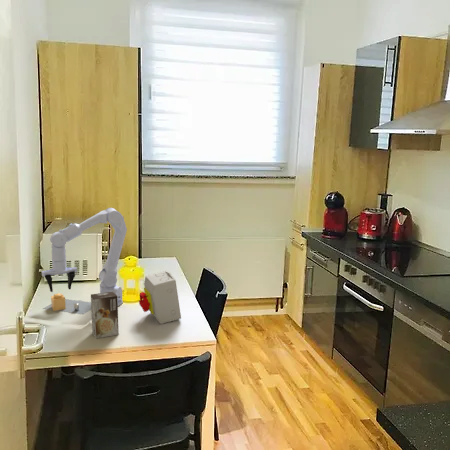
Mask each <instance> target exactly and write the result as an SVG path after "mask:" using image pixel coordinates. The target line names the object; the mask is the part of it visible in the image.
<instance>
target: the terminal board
mask: <svg viewBox="0 0 450 450" xmlns="http://www.w3.org/2000/svg"><path fill="white" fill-rule="evenodd" d="M75 303H79V311H74V304H75ZM65 306H66V309H62V310H55V311H56V312H62V313H71V314H77V315H85V314H86V313H88V312H90V311H91V301H84V300H76V299H67V298H65ZM42 310H49V311H54V310H53V309H52V306H51V304H49V305H47V306H45V307H43V308H42Z"/></svg>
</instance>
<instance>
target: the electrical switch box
mask: <svg viewBox="0 0 450 450" xmlns="http://www.w3.org/2000/svg"><path fill="white" fill-rule="evenodd" d="M143 286H144V287H143V291H142V292H139V300H138V303H139V306H140V307H141V308H142V311H143V312H144V313H147V312H150V313H151V315H152V316H153V317H154V318H155V320H156V321H157V322H158V323H159V324H160V325H162V324H166V323H170V322H174V321H177V320H181V319H182V314H181V308H180V307H181V306H180V302H179V294H178V293H179V292H178V286H177V280H176V279H175V277H174V276H173V275H172V273H171V272H170V271H167V270H164V271H159V272H155V273H151V274H148V275H145V277H144V282H143Z"/></svg>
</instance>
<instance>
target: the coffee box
mask: <svg viewBox="0 0 450 450" xmlns="http://www.w3.org/2000/svg"><path fill="white" fill-rule="evenodd" d="M90 302H91V310H90V311H91V312H90V313H91V333H92V334H93V336H94V337H95V339H102V338H106V337H112V336H119V334H120V333H119V332H120V331H119V308H118V307H119V306H118V301H117V295H116V294H115V293H114V292H106V293H100V292H99V293H92V294H90Z"/></svg>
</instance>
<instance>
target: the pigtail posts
mask: <svg viewBox="0 0 450 450" xmlns="http://www.w3.org/2000/svg"><path fill="white" fill-rule="evenodd" d="M74 311H79V303H75V304H74Z"/></svg>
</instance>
